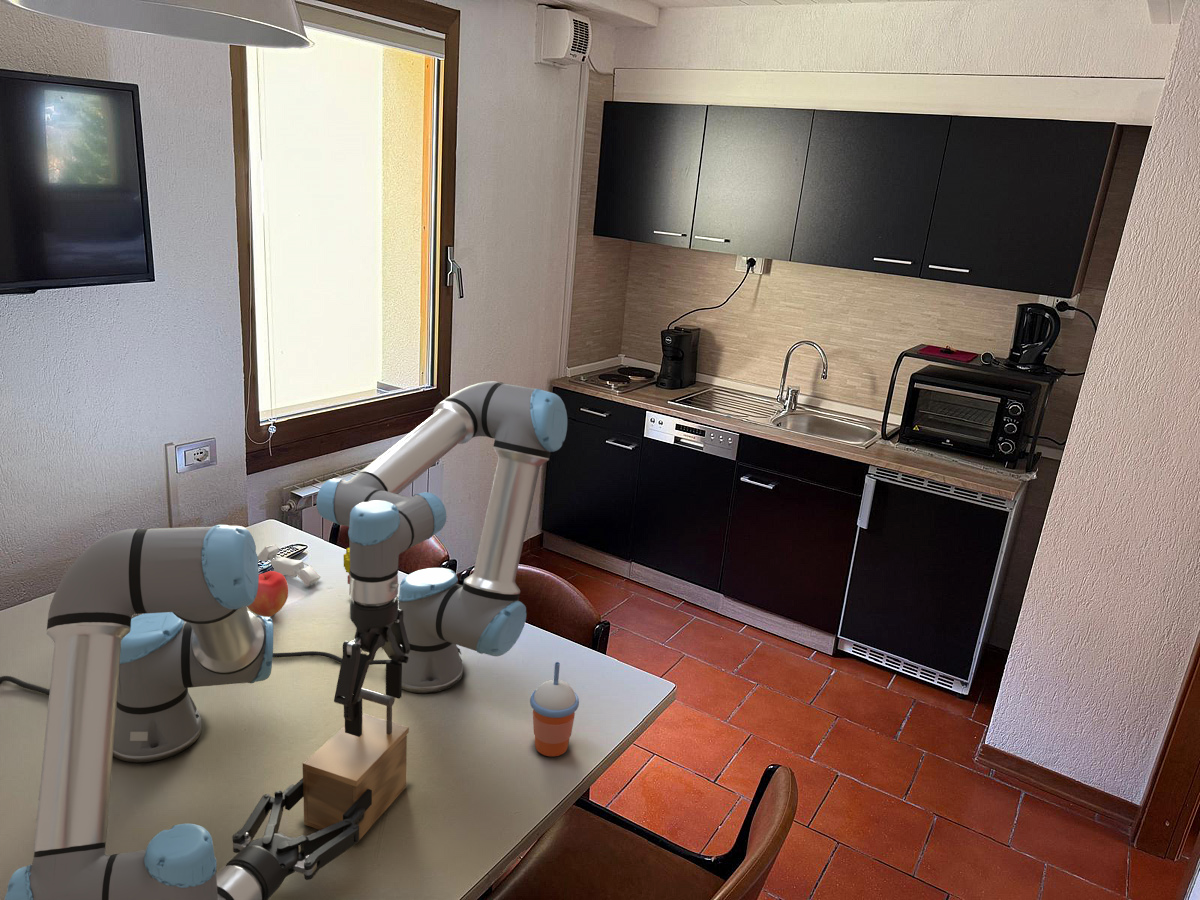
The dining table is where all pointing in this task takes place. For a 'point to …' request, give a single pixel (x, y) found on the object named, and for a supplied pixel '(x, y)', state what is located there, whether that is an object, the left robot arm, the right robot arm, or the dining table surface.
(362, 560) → the right robot arm
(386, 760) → the chest
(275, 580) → the apple
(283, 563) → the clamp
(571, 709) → the cup with straw
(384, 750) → the lid
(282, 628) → the dining table surface
